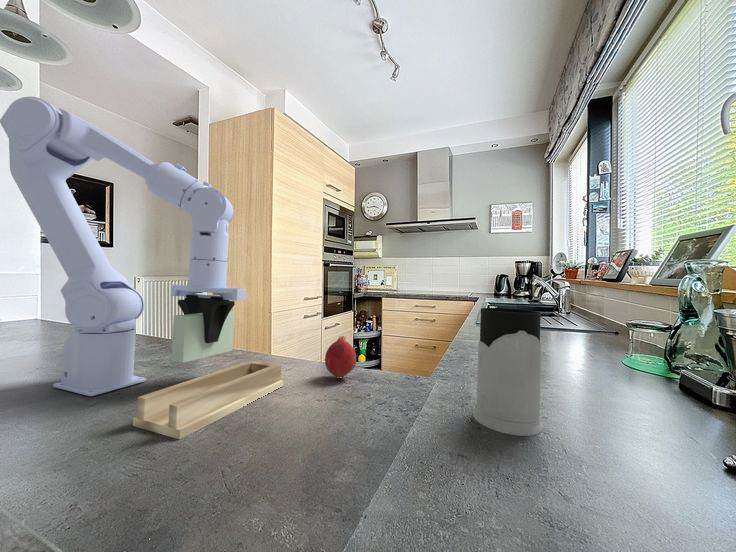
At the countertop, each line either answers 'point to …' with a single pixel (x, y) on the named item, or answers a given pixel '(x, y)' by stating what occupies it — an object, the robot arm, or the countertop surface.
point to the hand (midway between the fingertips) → (204, 341)
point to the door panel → (198, 338)
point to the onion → (340, 358)
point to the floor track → (205, 398)
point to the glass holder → (509, 371)
